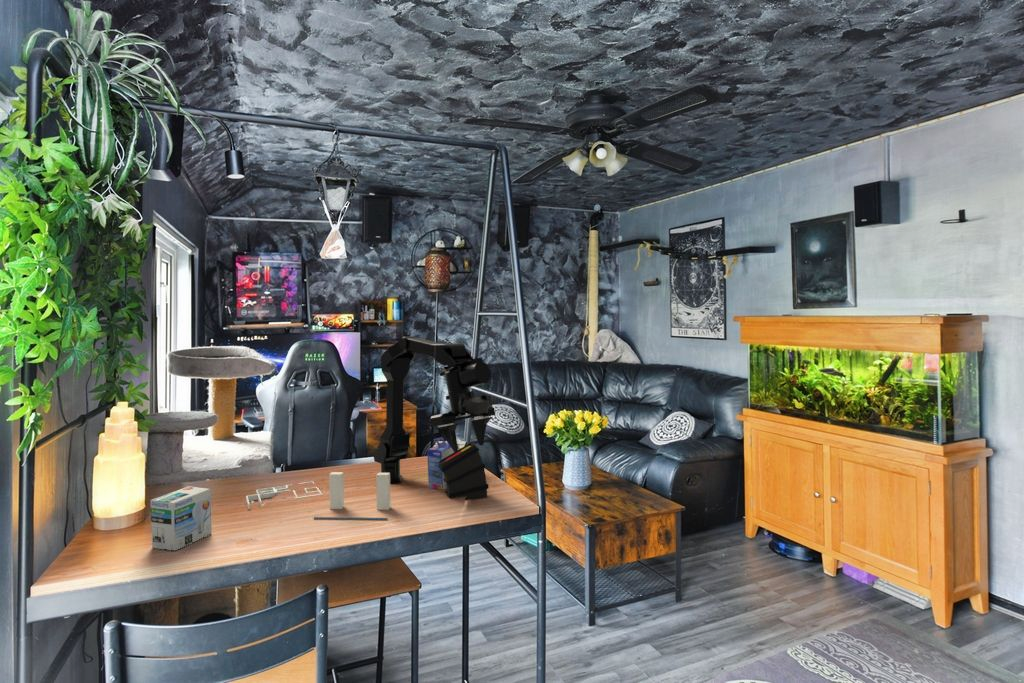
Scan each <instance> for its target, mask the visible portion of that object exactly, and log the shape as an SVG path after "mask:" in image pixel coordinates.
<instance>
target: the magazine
mask: <svg viewBox="0 0 1024 683" xmlns="http://www.w3.org/2000/svg"><path fill="white" fill-rule="evenodd" d="M479 451H480V449H479V447H478V446H477V445H476V444H475V443H474V442H469V443H467V445H466V446H464V447H462V448H461V449H459V450H458V451H457V452H454V453H452V454H451V455H449V456H447V457H445V458H444V459H442V460H440V461H439V462H438V464H439V466H438V467H439V469H440V470H441V471H442V472H443V474H444V477H445V478H444V481H445V482H446V486H447V488H446V490H444V491H445V492H444V493H445V495H446V496H447V497H448V498H449V499H456V498H457V499H458V498H465V499H464V501H467V500H477V499H484V498H488V489H489V488H490V487H489V484H488V483H487V475H486V471H485V470H486V469H485V468H486V464H485V463H484V462H483V460H482V457H481V454H480V452H479Z"/></svg>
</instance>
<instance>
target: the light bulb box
mask: <svg viewBox="0 0 1024 683" xmlns="http://www.w3.org/2000/svg"><path fill="white" fill-rule="evenodd" d="M150 522H151V523H150V525H151V548H152V549H159V550H164V549H167V550H166V551H171V550H174V551H173V552H176V551H175V550H177V549H179V550H180V548H181V549H182V547H183V548H185V547H187V546H189V545H191V544H193V543H192V542H194V543H196V542H197V540H198V541H200V540H202V539H204V538H207V537H208V536H210V535H209V534H211V533H212V532H213V531H212V530H213V529H212V528H213V527H212V526H213V525H212V491H211V488H205V487H197V486H189V485H188V486H185V487H183V488H180V489H178V490H174V491H172V492H169V493H167V494H164V495H161V496H159V497H155V498H152V499H150ZM207 535H208V536H207ZM211 535H212V534H211ZM203 537H204V538H203ZM201 538H202V539H201ZM199 539H200V540H199ZM195 541H196V542H195ZM188 544H189V545H188ZM186 545H187V546H186ZM184 546H185V547H184ZM177 551H178V550H177Z"/></svg>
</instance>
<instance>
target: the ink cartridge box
mask: <svg viewBox="0 0 1024 683" xmlns="http://www.w3.org/2000/svg"><path fill="white" fill-rule="evenodd" d="M439 441H443V442H441V443H439ZM445 441H446V440H445V438H444V437H443V436H440V437H438V438H435V443H436V442H437V444H438V445H437V446H435V447H430V448H428V449H427V452H426V453H427V454H426V456H427V478H428V488H431V489H438V490H445V489H447V486H446V482H445V481H444V478H445V477H444V474H443V472H442V471H441V470H440V469H439V467H438V466H439V464H438V462H439V461H440V460H442V459H444V458H445V457H447V456H449V455H451V454H452V453H454V451H453V449H452V448H451V447H450V445H449V444H448V442H445ZM457 446H458V450H459V444H457Z"/></svg>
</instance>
